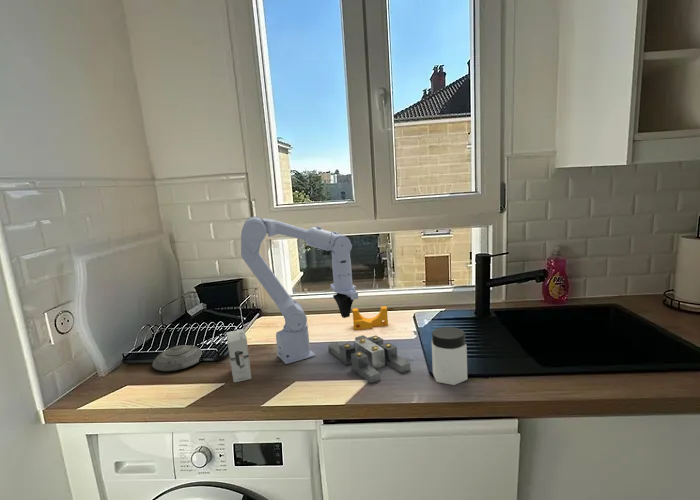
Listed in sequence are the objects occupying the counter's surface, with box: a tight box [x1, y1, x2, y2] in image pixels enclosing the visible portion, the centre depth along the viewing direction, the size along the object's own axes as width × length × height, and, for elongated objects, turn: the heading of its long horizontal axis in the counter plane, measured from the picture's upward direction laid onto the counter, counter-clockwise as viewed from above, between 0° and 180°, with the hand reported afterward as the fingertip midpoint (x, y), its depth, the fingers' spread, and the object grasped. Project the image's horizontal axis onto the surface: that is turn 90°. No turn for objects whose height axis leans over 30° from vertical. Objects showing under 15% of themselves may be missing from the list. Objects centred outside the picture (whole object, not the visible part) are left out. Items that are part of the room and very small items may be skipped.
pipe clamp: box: [351, 305, 389, 331], centre depth 146 cm, size 12×4×6 cm, turn 91°
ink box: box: [226, 328, 252, 383], centre depth 116 cm, size 9×5×12 cm, turn 21°
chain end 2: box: [351, 342, 411, 384], centre depth 113 cm, size 12×10×5 cm
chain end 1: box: [327, 335, 384, 366], centre depth 125 cm, size 12×12×5 cm
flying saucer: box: [151, 344, 203, 372], centre depth 127 cm, size 15×15×6 cm
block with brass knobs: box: [353, 337, 386, 370], centre depth 119 cm, size 4×10×6 cm, turn 28°
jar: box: [431, 326, 468, 386], centre depth 106 cm, size 9×8×12 cm
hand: (345, 316), depth 128 cm, fingers closed
